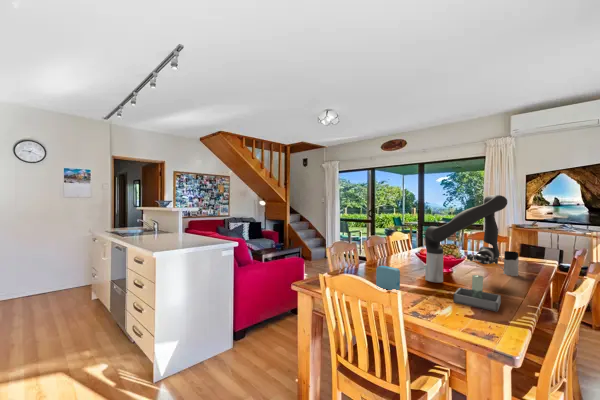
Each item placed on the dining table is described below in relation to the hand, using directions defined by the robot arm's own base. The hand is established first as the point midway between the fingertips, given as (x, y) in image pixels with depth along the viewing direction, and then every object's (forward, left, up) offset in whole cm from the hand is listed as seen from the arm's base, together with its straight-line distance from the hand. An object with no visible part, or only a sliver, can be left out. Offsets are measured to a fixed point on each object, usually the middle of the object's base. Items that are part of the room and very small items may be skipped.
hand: (480, 260), depth 150 cm
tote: (+1, -17, -18) cm, 24 cm away
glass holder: (+7, +60, -18) cm, 63 cm away
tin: (+1, -17, -17) cm, 24 cm away
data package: (-40, -26, -18) cm, 51 cm away
